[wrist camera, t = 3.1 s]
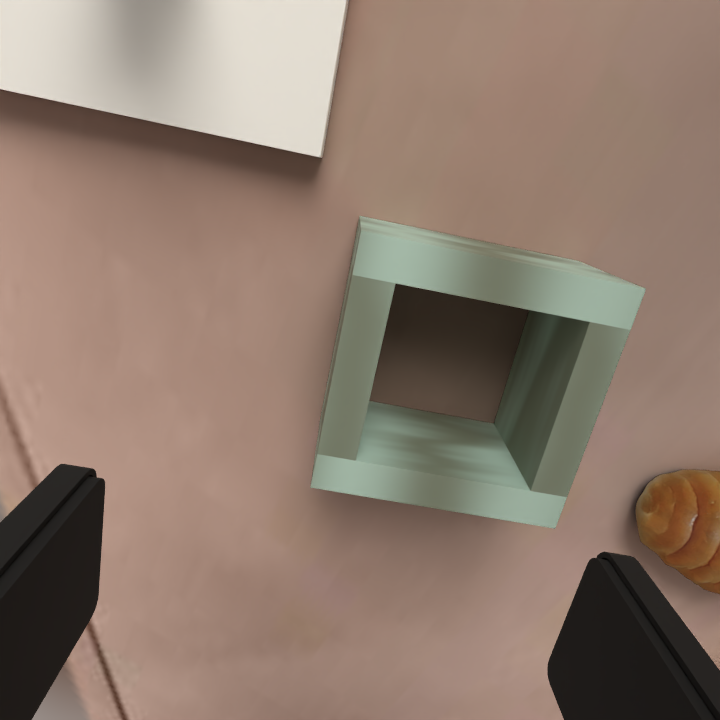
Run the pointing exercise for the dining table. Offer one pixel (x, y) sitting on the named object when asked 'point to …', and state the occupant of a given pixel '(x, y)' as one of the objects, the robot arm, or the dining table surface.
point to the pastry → (684, 523)
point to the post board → (183, 62)
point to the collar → (521, 394)
